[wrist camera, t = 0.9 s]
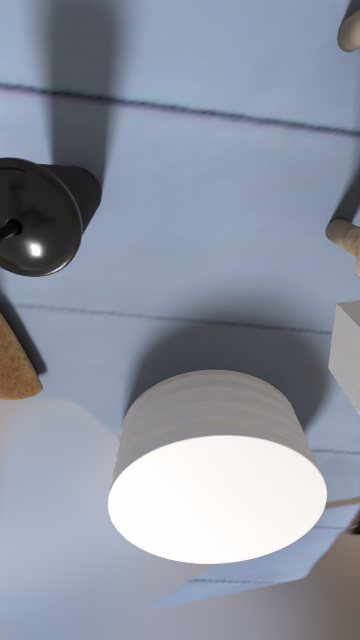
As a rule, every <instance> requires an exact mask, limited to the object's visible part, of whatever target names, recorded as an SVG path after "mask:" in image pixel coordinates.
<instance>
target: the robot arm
mask: <svg viewBox="0 0 360 640" xmlns="http://www.w3.org/2000/svg"><path fill="white" fill-rule="evenodd" d="M328 368H329V370H330V371H331V373H332V374H333V376H334V377H335V379H336V380H337V382H338V384H339V385H340V387H341V388H342V390H343V391H344V393H345V394H346V396H347V397H348V399H349V400H350V402H351V403H352V405H353V406H354V408H355V409H356V411H357V412H358V414H359V415H360V300H359V301H350V302H342V303H336V311H335V319H334V326H333V334H332V342H331V349H330V357H329V365H328Z"/></svg>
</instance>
